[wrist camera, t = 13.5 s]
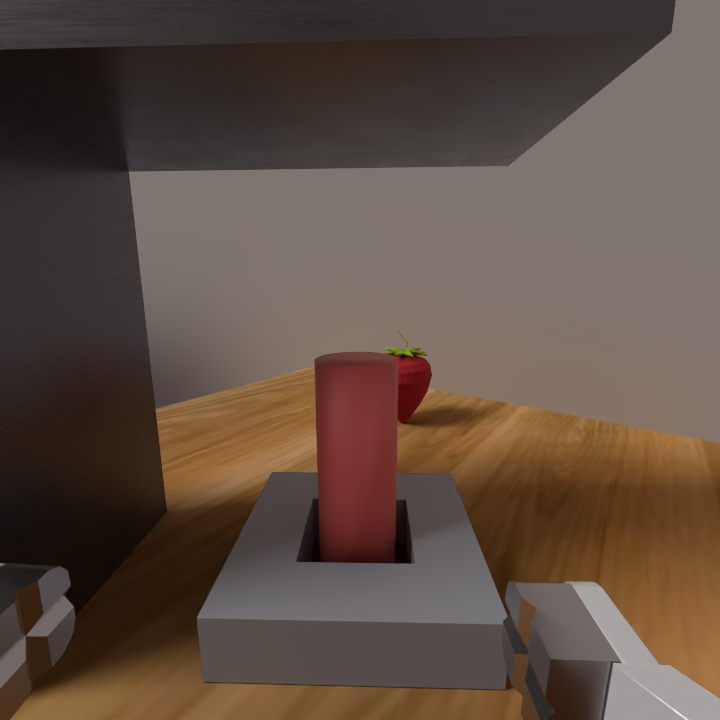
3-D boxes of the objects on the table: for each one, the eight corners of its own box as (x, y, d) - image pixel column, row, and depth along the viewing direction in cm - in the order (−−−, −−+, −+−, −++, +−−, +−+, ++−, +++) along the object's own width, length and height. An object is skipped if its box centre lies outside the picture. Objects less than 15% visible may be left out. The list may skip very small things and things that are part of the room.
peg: (315, 606, 20) (308, 368, 18) (325, 552, 24) (320, 351, 22) (396, 607, 20) (400, 368, 18) (393, 553, 24) (396, 351, 22)
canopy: (-27, 701, 16) (-198, -9, 11) (152, 511, 28) (108, 143, 24) (583, 718, 15) (680, -37, 10) (486, 515, 28) (509, 137, 23)
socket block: (203, 681, 16) (196, 618, 16) (274, 512, 28) (271, 472, 28) (505, 689, 16) (510, 624, 15) (449, 514, 28) (451, 473, 27)
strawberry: (360, 426, 44) (359, 334, 42) (397, 408, 50) (397, 327, 48) (407, 438, 41) (409, 339, 39) (441, 417, 47) (444, 330, 45)
